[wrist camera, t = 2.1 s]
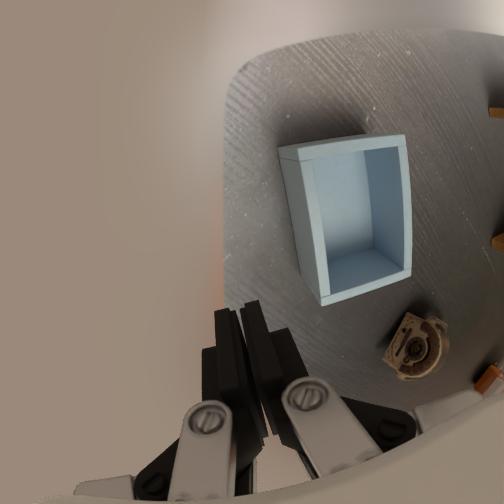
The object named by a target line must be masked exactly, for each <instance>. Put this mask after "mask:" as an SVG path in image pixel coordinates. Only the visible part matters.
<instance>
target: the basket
mask: <svg viewBox="0 0 504 504" xmlns="http://www.w3.org/2000/svg"><path fill="white" fill-rule="evenodd" d="M277 152H278V156H279V161H280V166H281V171H282V176H283V181H284V186H285V191H286V196H287V201H288V206H289V212H290V217H291V222H292V228H293V234H294V239H295V245H296V251H297V257H298V263H299V269H300V274H301V276H302V277H303V279H304V280H305V282H306V283H307V285H308V286H309V288H310V289H311V291H312V292H313V294H314V296H315V297H316V299H317V300H318V302H319V303H320V305H321V306H325V305H328V304H332V303H335V302H338V301H341V300H344V299H347V298H350V297H353V296H356V295H359V294H362V293H365V292H368V291H371V290H374V289H377V288H380V287H382V286H385V285H388V284H391V283H393V282H396V281H399V280H402V279H404V278H407V277H410V276H411V265H412V209H411V190H410V177H409V166H408V157H407V148H406V141H405V135H404V134H361V135H353V136H345V137H338V138H330V139H324V140H317V141H311V142H305V143H299V144H294V145H288V146H283V147H278V148H277Z"/></svg>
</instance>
